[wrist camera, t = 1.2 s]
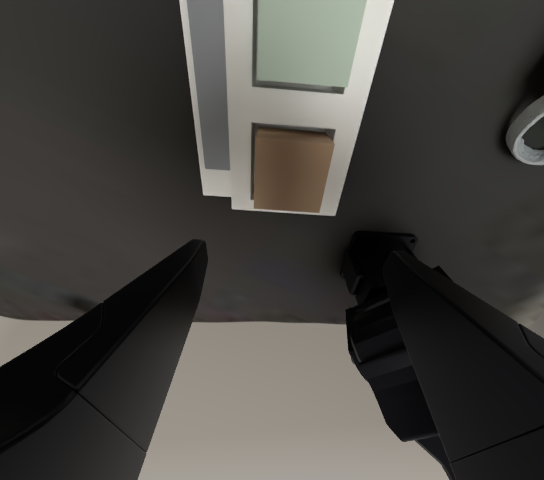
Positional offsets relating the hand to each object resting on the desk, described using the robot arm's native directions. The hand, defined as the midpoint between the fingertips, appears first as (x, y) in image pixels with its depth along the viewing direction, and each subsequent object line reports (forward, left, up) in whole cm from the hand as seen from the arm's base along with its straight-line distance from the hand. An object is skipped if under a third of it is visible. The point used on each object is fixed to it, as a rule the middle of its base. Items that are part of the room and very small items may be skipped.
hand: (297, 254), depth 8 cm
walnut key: (0, 0, -10) cm, 10 cm away
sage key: (0, -7, -10) cm, 12 cm away
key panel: (+1, -4, -13) cm, 14 cm away
